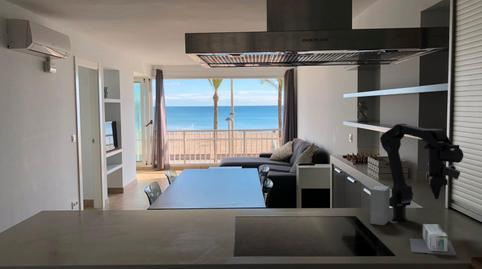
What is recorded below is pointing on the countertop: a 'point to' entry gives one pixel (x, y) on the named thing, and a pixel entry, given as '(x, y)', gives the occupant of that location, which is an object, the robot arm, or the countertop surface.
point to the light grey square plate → (421, 247)
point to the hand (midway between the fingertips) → (436, 198)
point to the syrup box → (434, 237)
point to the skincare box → (379, 204)
